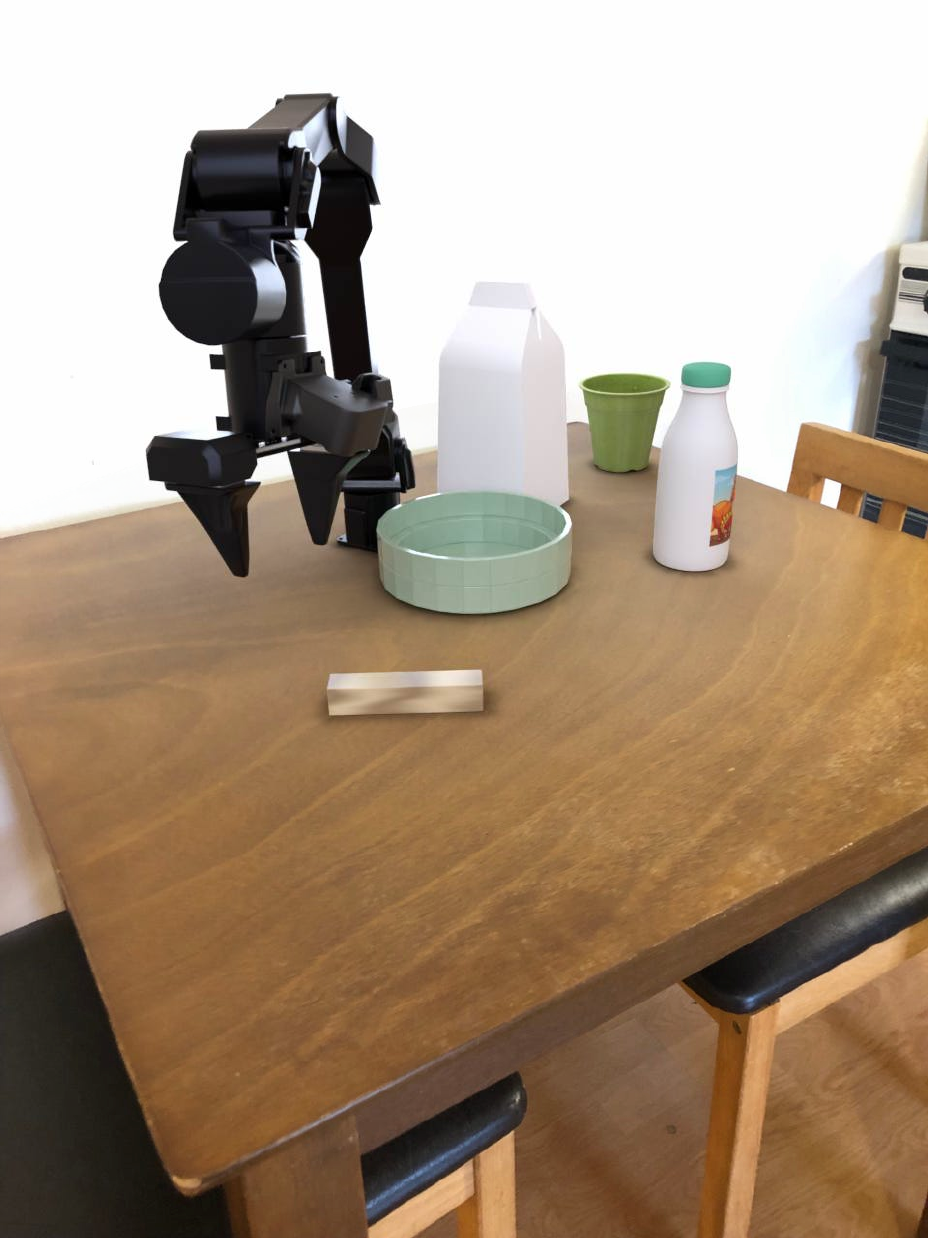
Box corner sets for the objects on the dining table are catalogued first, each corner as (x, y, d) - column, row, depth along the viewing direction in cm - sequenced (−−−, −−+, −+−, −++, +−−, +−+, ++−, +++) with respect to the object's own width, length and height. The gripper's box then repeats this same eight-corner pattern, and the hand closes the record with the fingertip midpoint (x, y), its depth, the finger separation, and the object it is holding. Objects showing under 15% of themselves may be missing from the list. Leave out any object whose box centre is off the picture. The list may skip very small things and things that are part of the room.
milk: (436, 512, 112) (427, 284, 101) (485, 484, 121) (481, 272, 109) (524, 529, 107) (525, 290, 95) (568, 499, 115) (574, 276, 103)
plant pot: (575, 452, 133) (578, 372, 128) (660, 453, 131) (666, 372, 126) (576, 478, 122) (579, 392, 117) (668, 479, 121) (675, 392, 116)
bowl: (442, 530, 107) (440, 480, 104) (598, 559, 98) (601, 505, 96) (343, 595, 92) (338, 538, 89) (517, 635, 83) (517, 574, 81)
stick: (329, 715, 72) (326, 689, 71) (332, 699, 75) (329, 673, 74) (483, 711, 72) (483, 684, 71) (482, 695, 75) (482, 669, 73)
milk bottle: (684, 579, 93) (701, 377, 84) (637, 553, 99) (649, 363, 90) (743, 563, 96) (766, 367, 87) (694, 539, 103) (711, 354, 94)
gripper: (270, 347, 52) (292, 613, 57) (436, 331, 67) (441, 541, 72) (124, 344, 56) (157, 589, 62) (310, 329, 72) (323, 526, 77)
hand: (282, 559), depth 68 cm, fingers open, 9 cm apart
